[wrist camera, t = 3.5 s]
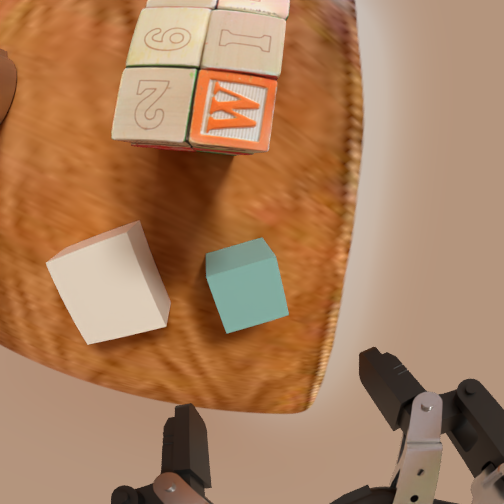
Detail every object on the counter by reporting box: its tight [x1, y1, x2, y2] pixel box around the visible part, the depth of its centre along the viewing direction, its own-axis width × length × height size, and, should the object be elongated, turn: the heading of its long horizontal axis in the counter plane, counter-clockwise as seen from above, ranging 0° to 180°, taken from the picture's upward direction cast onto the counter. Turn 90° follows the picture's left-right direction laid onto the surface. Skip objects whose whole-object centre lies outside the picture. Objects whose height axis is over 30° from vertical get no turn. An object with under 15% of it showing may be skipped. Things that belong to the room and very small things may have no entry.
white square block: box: [46, 220, 171, 344], centre depth 21 cm, size 8×8×4 cm
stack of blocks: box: [111, 0, 290, 156], centre depth 12 cm, size 21×6×12 cm, turn 172°
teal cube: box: [206, 238, 289, 333], centre depth 22 cm, size 5×5×5 cm
